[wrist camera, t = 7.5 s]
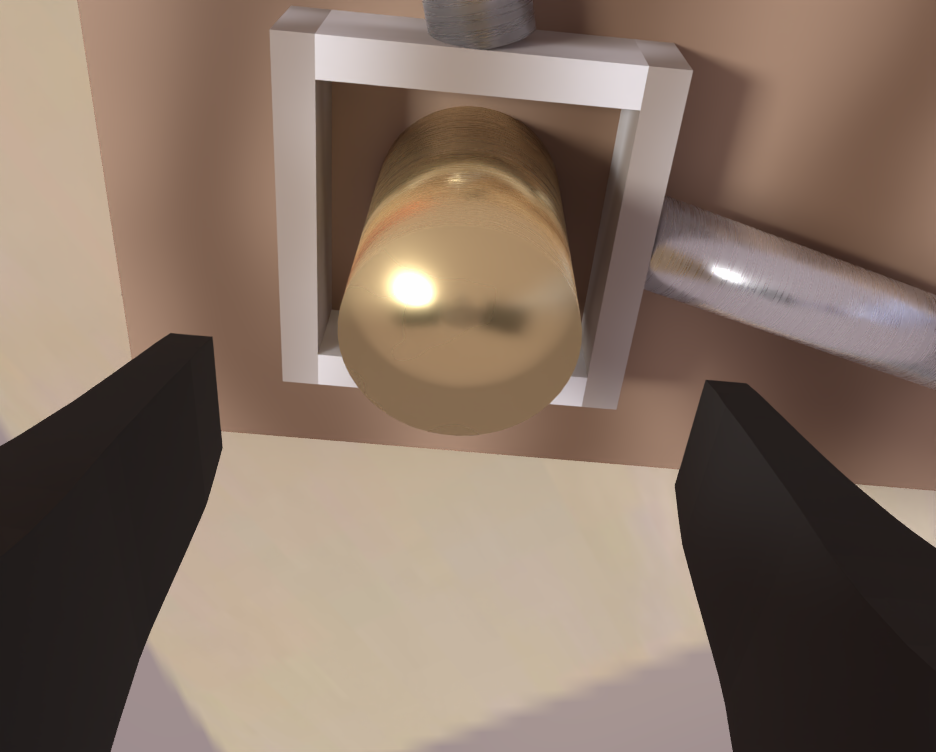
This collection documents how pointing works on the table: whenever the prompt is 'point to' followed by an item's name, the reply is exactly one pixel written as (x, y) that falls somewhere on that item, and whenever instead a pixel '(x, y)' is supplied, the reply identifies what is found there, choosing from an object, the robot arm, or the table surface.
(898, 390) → the plate
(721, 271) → the shaft
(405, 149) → the brass cylinder
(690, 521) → the robot arm
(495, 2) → the shaft
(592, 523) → the table surface
